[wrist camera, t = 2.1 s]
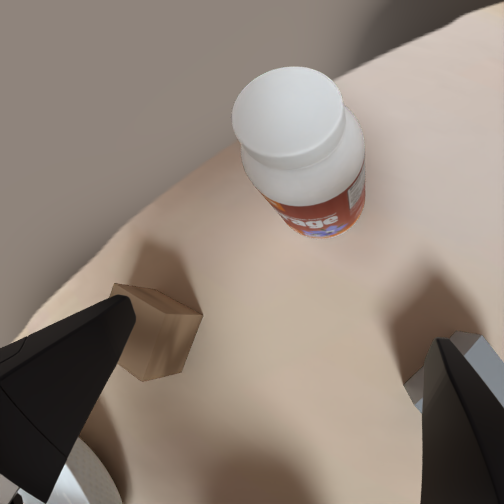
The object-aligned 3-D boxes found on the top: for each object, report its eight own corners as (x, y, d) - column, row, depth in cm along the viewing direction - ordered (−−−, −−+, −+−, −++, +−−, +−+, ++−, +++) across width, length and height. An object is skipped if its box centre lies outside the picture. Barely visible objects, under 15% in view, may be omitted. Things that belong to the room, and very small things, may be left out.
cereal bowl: (143, 557, 20) (106, 584, 14) (50, 486, 27) (12, 497, 20) (155, 460, 22) (101, 488, 16) (47, 385, 28) (-2, 390, 22)
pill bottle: (267, 224, 23) (188, 154, 13) (298, 150, 23) (247, 49, 13) (348, 254, 21) (332, 195, 10) (376, 174, 21) (377, 67, 11)
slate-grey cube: (443, 430, 16) (461, 458, 11) (402, 384, 18) (414, 405, 13) (494, 378, 15) (525, 392, 11) (456, 330, 17) (481, 334, 12)
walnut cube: (181, 372, 23) (142, 381, 18) (136, 342, 25) (94, 345, 20) (203, 314, 23) (165, 314, 19) (155, 289, 25) (114, 283, 21)
